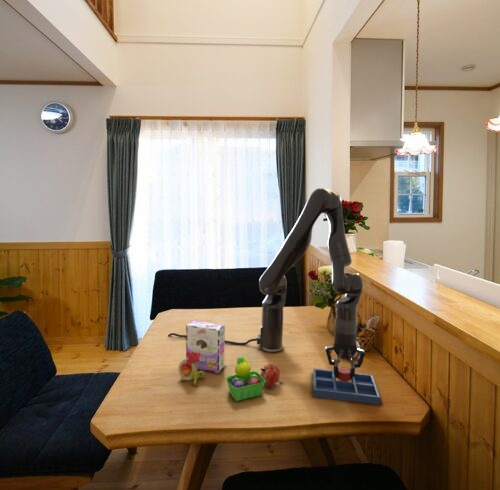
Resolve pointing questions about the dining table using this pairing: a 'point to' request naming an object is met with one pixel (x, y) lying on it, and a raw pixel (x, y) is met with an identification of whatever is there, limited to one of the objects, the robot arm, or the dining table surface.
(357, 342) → the die
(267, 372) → the pomegranate
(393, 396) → the dining table surface
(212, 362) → the candy box
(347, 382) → the grid
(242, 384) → the fruit basket
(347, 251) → the robot arm
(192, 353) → the bird rattle
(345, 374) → the short red cylinder
